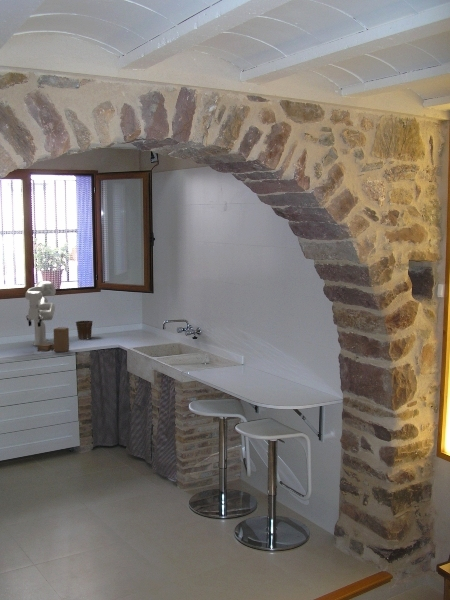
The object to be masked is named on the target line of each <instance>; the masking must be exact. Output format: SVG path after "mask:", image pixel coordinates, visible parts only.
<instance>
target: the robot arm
mask: <svg viewBox="0 0 450 600" xmlns="http://www.w3.org/2000/svg"><path fill="white" fill-rule="evenodd" d="M56 291H57V290H56V287H55V284H54V283H52V281H39V282H38V283H37V284H36V285H35V286H34V287H30V288H28V289H27V291H25V295H24V296H25V299H26V300H28V301H29V302H28V304H29V308H28V314H27V315H26V316H25V318H26V321H27V323H28V327H31V326H32V321H33V323H34V326H33V327H34V343H33V346H34V347H35V346H37V347H38V345H40V344H43V343H47V342H49V338H47V337H46V336H47V335H46V334H47V333H46V323H45V322H44V321H52V320H53V318H54V314H55V311H56V310H55V309H56V306H55V304H54V303H53V302H52V301H51V302H48V301H49V300H48V299H47V298H46V297H47V296H48V297H51V296H55V295H56Z"/></svg>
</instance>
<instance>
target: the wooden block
mask: <svg viewBox="0 0 450 600" xmlns="http://www.w3.org/2000/svg"><path fill="white" fill-rule="evenodd" d="M69 331H70V329H69V327H66V326H65V327H63V326H61V327H60V326H59V327H56V328H53V344H54V349H53V351H54V352H55V353H65V352H68V351H69V350H70V337H69V335H70V334H69V333H70V332H69Z"/></svg>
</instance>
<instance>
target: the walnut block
mask: <svg viewBox="0 0 450 600" xmlns="http://www.w3.org/2000/svg"><path fill="white" fill-rule="evenodd" d="M37 351H38V352H39V351H40V352H41V351H43V352H51V351H54V343H48V342H46V343H43V344H40V345H38V346H37Z"/></svg>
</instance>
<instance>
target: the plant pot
mask: <svg viewBox="0 0 450 600" xmlns="http://www.w3.org/2000/svg"><path fill="white" fill-rule="evenodd" d="M75 325H76V331H77V338H79V339H78V340H88V339H87V338H90V339H92V329H93V320H78V321H75Z"/></svg>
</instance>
